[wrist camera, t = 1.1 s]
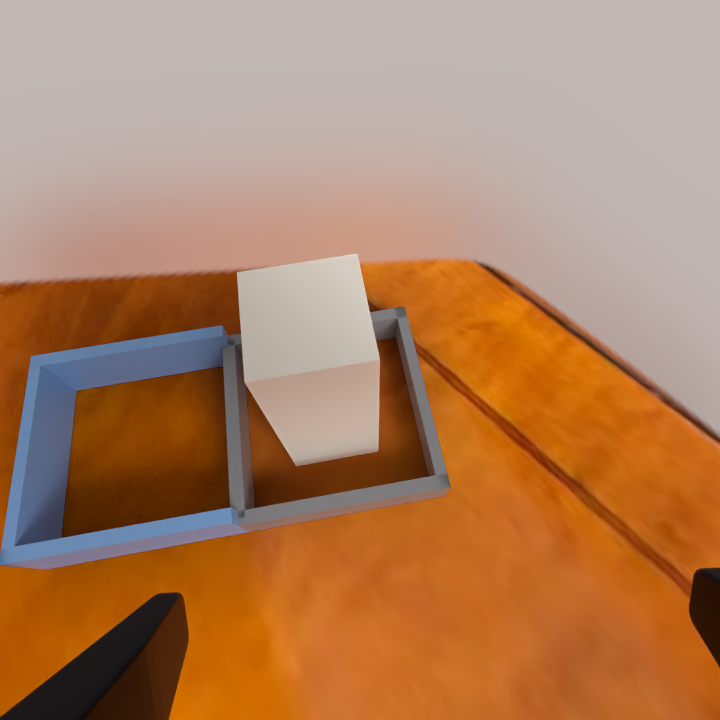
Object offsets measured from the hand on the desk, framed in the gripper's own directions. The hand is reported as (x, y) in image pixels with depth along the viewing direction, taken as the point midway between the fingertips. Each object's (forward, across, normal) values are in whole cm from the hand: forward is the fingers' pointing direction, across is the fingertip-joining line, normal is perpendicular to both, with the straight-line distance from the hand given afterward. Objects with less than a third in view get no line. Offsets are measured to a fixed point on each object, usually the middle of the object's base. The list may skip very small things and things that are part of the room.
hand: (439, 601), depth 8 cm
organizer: (+15, +7, +3) cm, 17 cm away
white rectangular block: (+15, +3, +2) cm, 16 cm away
